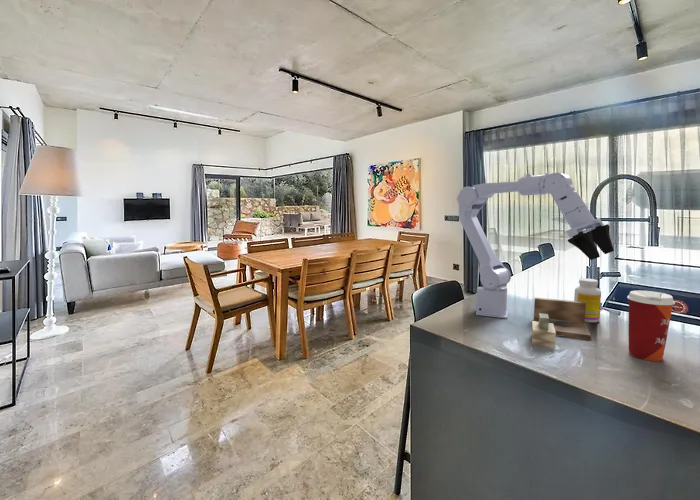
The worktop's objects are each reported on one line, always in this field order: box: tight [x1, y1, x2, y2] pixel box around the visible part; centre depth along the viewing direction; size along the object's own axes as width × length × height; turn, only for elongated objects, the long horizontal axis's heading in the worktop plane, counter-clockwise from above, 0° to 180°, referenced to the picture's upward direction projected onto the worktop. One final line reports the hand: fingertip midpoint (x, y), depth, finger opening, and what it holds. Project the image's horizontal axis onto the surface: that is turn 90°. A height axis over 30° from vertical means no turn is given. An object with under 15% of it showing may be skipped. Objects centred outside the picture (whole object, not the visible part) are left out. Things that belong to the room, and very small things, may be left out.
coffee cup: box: [626, 290, 676, 362], centre depth 76 cm, size 8×8×15 cm
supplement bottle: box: [573, 277, 602, 324], centre depth 101 cm, size 7×7×13 cm
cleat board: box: [533, 297, 592, 340], centre depth 94 cm, size 13×12×7 cm
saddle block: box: [531, 313, 557, 349], centre depth 86 cm, size 5×8×7 cm, turn 153°
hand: (602, 255), depth 86 cm, fingers open, 7 cm apart
